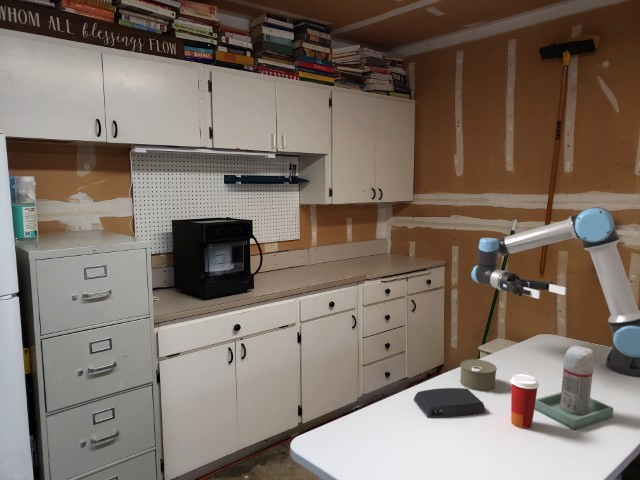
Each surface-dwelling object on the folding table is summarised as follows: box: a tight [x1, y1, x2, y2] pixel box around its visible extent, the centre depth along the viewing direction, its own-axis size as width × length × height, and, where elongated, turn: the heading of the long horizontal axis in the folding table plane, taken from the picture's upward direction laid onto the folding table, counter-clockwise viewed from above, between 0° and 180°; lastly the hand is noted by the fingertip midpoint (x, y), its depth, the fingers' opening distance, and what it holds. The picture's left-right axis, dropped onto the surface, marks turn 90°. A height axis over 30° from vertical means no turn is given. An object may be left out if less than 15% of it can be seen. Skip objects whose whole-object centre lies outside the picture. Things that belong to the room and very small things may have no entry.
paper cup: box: [509, 373, 540, 430], centre depth 139 cm, size 8×8×14 cm
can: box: [459, 358, 498, 392], centre depth 166 cm, size 12×12×7 cm
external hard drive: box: [413, 387, 487, 419], centre depth 149 cm, size 13×19×4 cm
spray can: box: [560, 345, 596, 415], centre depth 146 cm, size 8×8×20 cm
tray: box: [534, 391, 614, 431], centre depth 146 cm, size 18×14×3 cm
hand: (552, 293), depth 167 cm, fingers open, 13 cm apart
